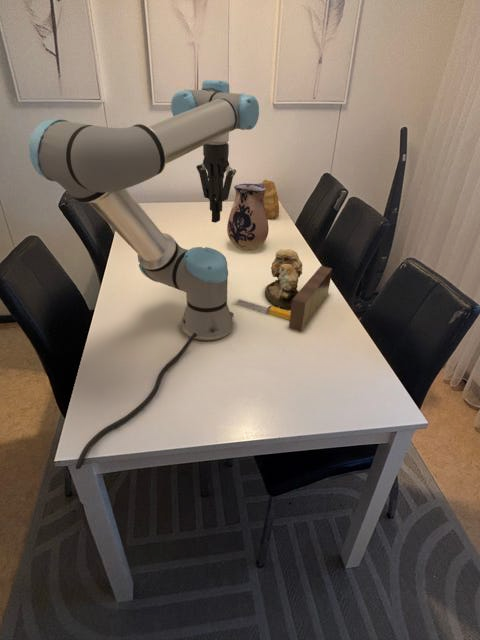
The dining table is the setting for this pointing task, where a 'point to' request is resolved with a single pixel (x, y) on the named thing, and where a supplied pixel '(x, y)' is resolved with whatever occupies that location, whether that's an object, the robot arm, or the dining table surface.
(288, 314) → the yellow handled chisel
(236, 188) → the ceramic pitcher
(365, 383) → the dining table surface
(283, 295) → the beige stone figure
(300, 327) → the walnut rail
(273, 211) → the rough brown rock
